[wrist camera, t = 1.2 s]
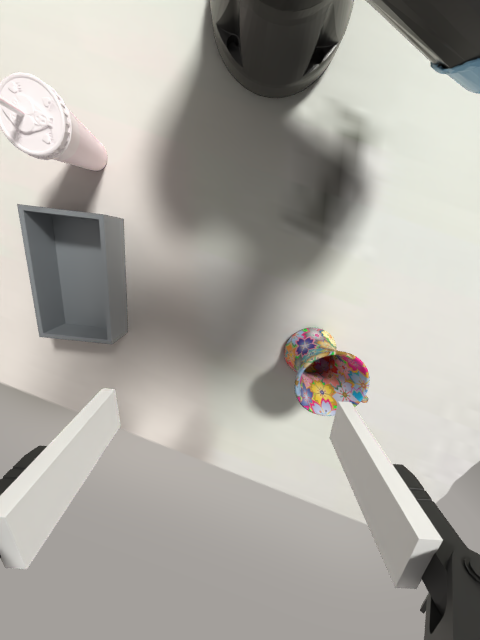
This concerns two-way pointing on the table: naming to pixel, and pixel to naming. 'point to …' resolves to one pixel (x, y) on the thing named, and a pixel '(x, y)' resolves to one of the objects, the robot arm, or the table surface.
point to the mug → (325, 372)
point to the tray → (76, 273)
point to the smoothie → (46, 124)
